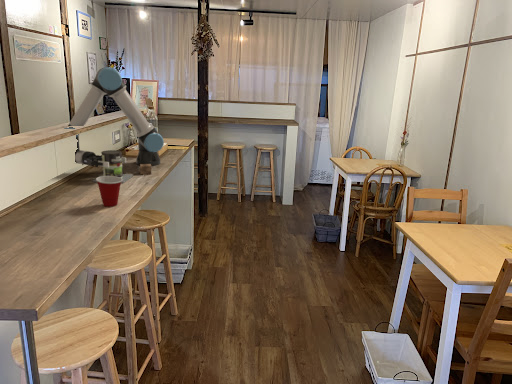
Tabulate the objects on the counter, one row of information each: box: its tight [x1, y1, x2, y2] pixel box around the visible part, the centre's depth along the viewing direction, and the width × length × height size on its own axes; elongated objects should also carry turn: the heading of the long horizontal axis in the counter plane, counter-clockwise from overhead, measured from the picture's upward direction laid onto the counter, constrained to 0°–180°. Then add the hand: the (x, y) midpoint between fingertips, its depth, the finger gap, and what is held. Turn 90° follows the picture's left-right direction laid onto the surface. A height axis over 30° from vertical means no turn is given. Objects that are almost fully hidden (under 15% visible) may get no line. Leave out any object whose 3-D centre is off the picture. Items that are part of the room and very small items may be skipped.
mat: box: [92, 173, 134, 184], centre depth 212 cm, size 16×16×1 cm
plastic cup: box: [95, 175, 123, 208], centre depth 169 cm, size 11×11×12 cm
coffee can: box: [100, 149, 124, 178], centre depth 210 cm, size 10×10×14 cm
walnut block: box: [139, 164, 152, 175], centre depth 227 cm, size 6×6×5 cm
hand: (117, 162), depth 209 cm, fingers open, 13 cm apart
